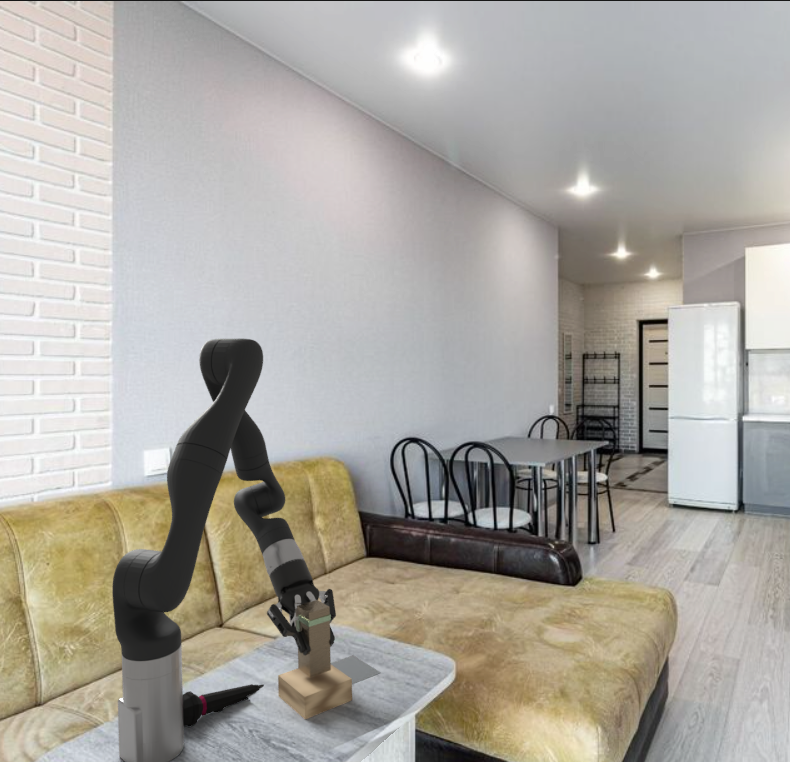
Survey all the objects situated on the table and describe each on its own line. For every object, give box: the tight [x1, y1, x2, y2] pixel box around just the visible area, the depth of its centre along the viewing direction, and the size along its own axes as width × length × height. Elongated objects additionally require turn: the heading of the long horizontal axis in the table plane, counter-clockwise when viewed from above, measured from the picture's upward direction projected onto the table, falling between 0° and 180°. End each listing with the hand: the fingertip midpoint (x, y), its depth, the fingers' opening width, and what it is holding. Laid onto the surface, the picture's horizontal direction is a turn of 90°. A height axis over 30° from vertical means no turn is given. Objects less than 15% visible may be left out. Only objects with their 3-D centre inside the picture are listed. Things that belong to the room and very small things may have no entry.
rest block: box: [277, 665, 353, 720], centre depth 118 cm, size 10×10×5 cm
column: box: [297, 599, 332, 678], centre depth 118 cm, size 5×5×12 cm
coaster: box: [331, 654, 382, 685], centre depth 128 cm, size 10×10×1 cm
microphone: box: [183, 684, 265, 727], centre depth 117 cm, size 6×6×20 cm
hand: (319, 648), depth 116 cm, fingers closed on column, 4 cm apart
